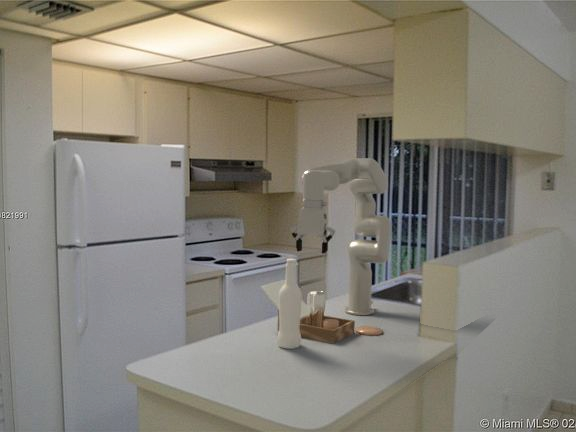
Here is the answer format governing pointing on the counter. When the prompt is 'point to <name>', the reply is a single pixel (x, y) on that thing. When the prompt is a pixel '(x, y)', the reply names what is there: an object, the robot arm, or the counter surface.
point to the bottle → (290, 309)
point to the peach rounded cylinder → (330, 324)
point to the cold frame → (327, 330)
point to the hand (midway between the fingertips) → (311, 252)
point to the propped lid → (273, 295)
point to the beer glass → (316, 308)
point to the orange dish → (369, 330)
